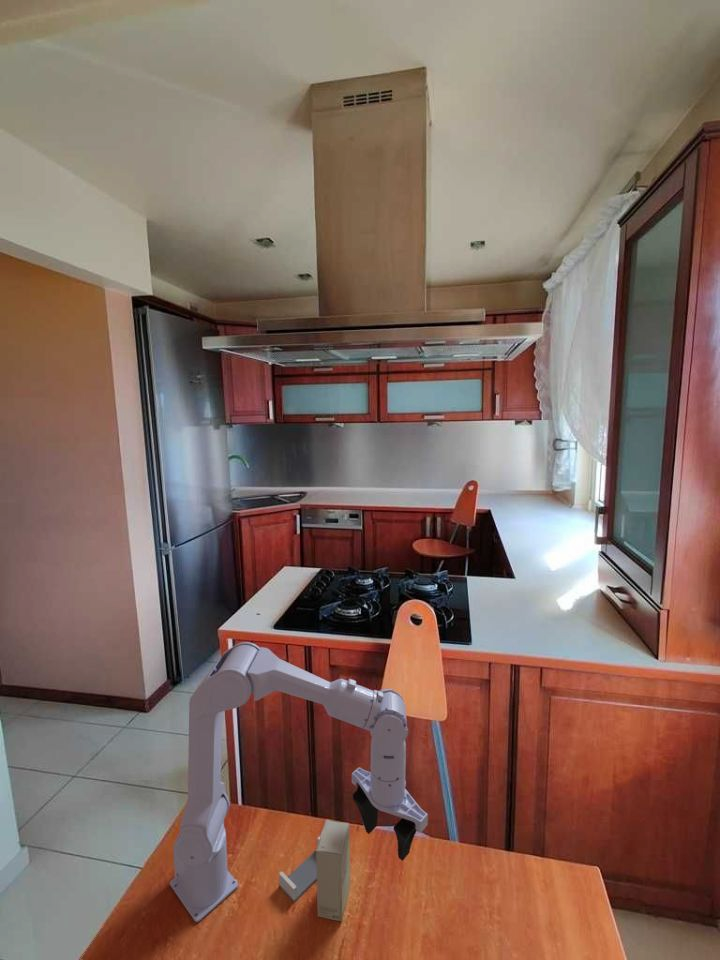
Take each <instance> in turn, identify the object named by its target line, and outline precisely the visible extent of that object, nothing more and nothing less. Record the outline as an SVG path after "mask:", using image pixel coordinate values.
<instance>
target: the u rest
mask: <svg viewBox="0 0 720 960" xmlns="http://www.w3.org/2000/svg"><path fill="white" fill-rule="evenodd" d="M320 836H321V835H319V836H318V837H317V838H316V844H317V846H318V843H319V839H320ZM317 846H316V847H317ZM315 882H317V863H316V849H314V851H313V852H312V853H311V854H310V855H309V856H308V857H307V858H306V859H304V861H302V863H300V864H299V865H298V866H297V867H296V868H295V869H294V870H293V871H292V872H291V873H290V874H289V875H288V876H287V875H286V873H284V872H283V871H280V872H279V873H278V884H279V885H278V886H279V888H280V890H282V891H283V892H284V893H285V894H286V895H287V897H288V898H289V899H290V900H291V901H292V902H293V903H296V902H297V901H298V900H299V899H300V897H302V895H303V894H304V893H305V892H306V891H308V889H309V888H311V887H312V885H313V884H314V883H315Z"/></svg>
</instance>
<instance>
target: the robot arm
mask: <svg viewBox="0 0 720 960" xmlns="http://www.w3.org/2000/svg"><path fill="white" fill-rule="evenodd" d="M274 692H280V693H284V694H288V695H289V696H290V695H291V696H293V697H297V698H301V699H303V700H307V701H311V702H314V703H316V704H321V705H322V706H323V707H324V709H325V711H326V713H327V715H328V716H329V717H332V718H334V719H337V720H340V721H343V722H344V723H348V724H351V725H352V726H355V727H358V728H361V729H363V730H366V731H369V733H370V736H371V739H370V740H371V741H370V771H368V770H366V769H363V768H362V767H358V768H356V769H355V770H354V771H353V772H352V773H351V783H352V784H353V785H354V786H357V789H356V791H354V792H353V793H352V800H353V802H354V803H355V805H356V807H357V809H358V811H359V813H360V816H361V819H362V822H363V825H364V829H365V832H366V833H367V834H368V835H370V834H371V833H372V832H373V831H374V829H375V828H377V825H378V813H379V811H381V812H383V813H386V814H389V815H392V816H395V817H398V818H401V819H400V820H399V821H397V822H396V824H395V825H394V826H393V832H394V833H395V836H396V839H397V841H396V842H397V856H398V859H399V860H400V861H404V859H406V857H407V856H408V855H409V854H410V851H411V847H412V843H413V841H414V838H415V836H416V833H417V832H419V833H422V832H423V831H424V830H425V829H426V827H427V826H428V824H429V823H428V822H429V814H428V813H427V812H426V811H424V810H423V809H422V808H421V807H420V806H419V804H418V802H416V800H415V799H414V798H413V796H411V794H410V793H409V791H408V790H407V789H406V786H407V782H406V759H407V758H406V757H407V755H406V753H407V744H406V739H407V737H408V734H409V729H408V721H407V711H406V704H405V701H404V698H403V697H402V696H401V694H400V693H399V692H397V691H394V690H393V689H392V688H383V689H380V690H376V689H374V690H372V689H369V688H368V687H364V686H362V685H359V684H357V681H356V680H355V679H352V678H349V679H348V680H346V679H344V678H338V679H335V680H334V681H328V680H326V679H324V678H322V677H320V676H318V675H316V674H313V673H311V672H309V671H307V670H305V669H302V668H300V667H298V666H296V665H294V664H291V663H290V662H287V661H285V660H284V659H281V658H279V657H278V656H277V655H276V654H275V653H273V651H271V650H270V649H269V648H267V647H263V646H258V645H257V644H255V643H254V642H250V641H243V642H239V643H236V644H235V645H234V646H232V647H230V648H229V649H227V650H225V651H224V652H223V653H222V655H221V656H220V658H219V659H218V660H217V661H216V663H215V664H214V666H213V667H212V668H211V670H210V671H208V673H207V674H206V675H205V677H204V678H203V680H202V681H201V682H200V683H199V684H198V686H197V687H196V689H195V690H194V691H193V693H192V695H191V696H190V698H189V703H188V758H187V759H188V760H187V761H188V762H187V764H188V768H187V771H188V773H187V800H186V803H185V807H184V810H183V813H182V817H181V819H180V824H179V833H178V834H177V836H176V838H175V840H174V842H173V864H174V877H173V878H172V879H171V880H170V881H169V885H170V887H171V888H172V890H173V891H174V894H176V897H178V899H179V900H180V902H181V903H182V905H183V907H185V909H186V910H187V912H188V913H189V916H190V917H192V920H193V921H194V922H195V923H199V922H200V921H201V920H203V919H204V918H205V916H207V915H208V914H209V913H211V912H212V910H214V909H215V908H216V907H217V906H219V905H220V903H222V902H223V901H224V900H225V899H227V897H228V896H230V895H231V894H232V893H233V892H234V891H236V889H238V888H239V882H238V881H237V880H236V879H235V877H234V876H233V875H232V873H231V872H230V871H229V870H228V853H227V833H226V831H227V830H226V828H225V821H224V820H225V819H226V816H227V814H228V812H229V810H230V805H231V803H230V799H229V796H228V795H227V793H226V784H225V782H224V781H222V749H223V748H222V747H223V746H222V745H223V744H222V743H223V712H227V711H230V710H233V709H237V708H239V707H242V706H243V705H245V704H246V703H247V702H248V701H249V699H250V697H251V695H252V694H254V695H253V701H254V702H257V701H259V700H260V699H263V698H264V697H266V696H268V695H270V694H272V693H274ZM378 810H379V811H378Z"/></svg>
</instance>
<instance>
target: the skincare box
mask: <svg viewBox="0 0 720 960" xmlns="http://www.w3.org/2000/svg"><path fill="white" fill-rule="evenodd" d="M350 835H351V833H350V823H349V822H344V821H339V820H334V819H330V818H329V819H325V821H324V824H323V826H322V830H321V833H320V835H319V836H320V839H319V843H318V846H316V849H315V850H316V863H317V880H316V897H317V898H316V899H317V901H316V902H317V903H316V906H317V917H320V918H323V919H327V920H328V919H329V920H333V921H338V922H343V921H344V915H345V911H346V906H347V902H348V898H349V893H350V890H351V847H350V845H351V841H350V840H351V837H350Z"/></svg>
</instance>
